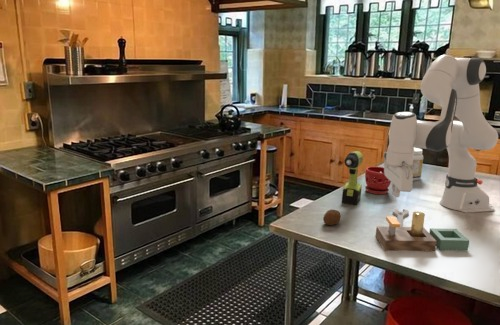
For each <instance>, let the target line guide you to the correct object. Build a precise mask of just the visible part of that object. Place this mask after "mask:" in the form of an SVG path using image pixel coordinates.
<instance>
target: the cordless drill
mask: <svg viewBox="0 0 500 325" xmlns="http://www.w3.org/2000/svg"><path fill="white" fill-rule="evenodd" d="M363 162H364V155H363V153H362V152H361V151H358V150H354V151H351V152H349V153H348V154H347V155H346V156H345V158H344V165H345V166H346V167H347V168H348V170H349V180H348V181H349V182H346V184H345V185H344V187H343V190H342V195H341V203H342V204H344V205H353V206H357V205H358V204H359V202H360V201H361V196H362V184H360V183H358V169H359V167H360V165H362V163H363Z"/></svg>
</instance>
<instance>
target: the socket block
mask: <svg viewBox="0 0 500 325" xmlns="http://www.w3.org/2000/svg"><path fill="white" fill-rule="evenodd" d="M375 228H376V230H375V237H376V239H377V240H378V242H379V243H380V246H381V247H382V248H383V250H384V251H388V252H389V251H395V252H405V251H407V252H436V249H437V247H436V243H437V241H436V240H435V239H434V238H433V237H432V236H431V235H430V233H429V232H430V231H428V230H427V229H426V228H425V227H424V226H423V232H422V237H411V236H410V233H411V226H403V227H396V232H395V236H391V235H390V234H389V226H380V225H379V226H376V227H375Z"/></svg>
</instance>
